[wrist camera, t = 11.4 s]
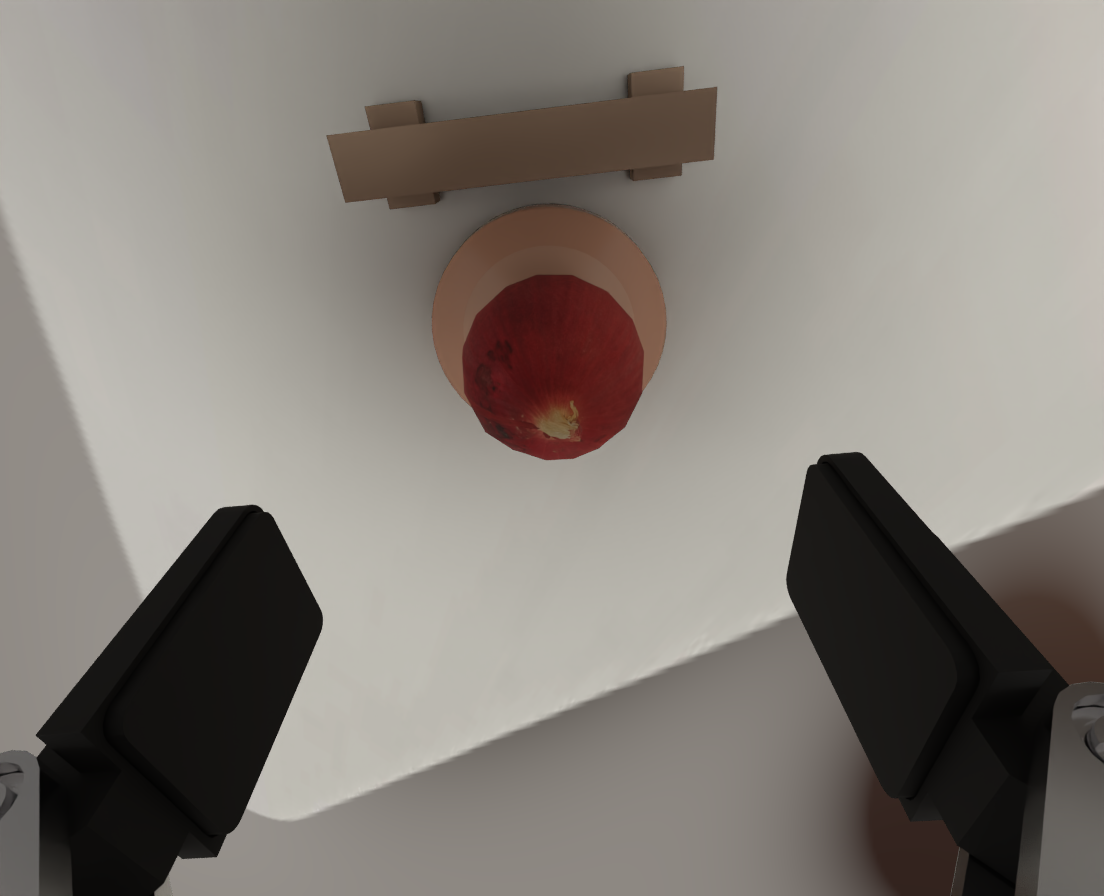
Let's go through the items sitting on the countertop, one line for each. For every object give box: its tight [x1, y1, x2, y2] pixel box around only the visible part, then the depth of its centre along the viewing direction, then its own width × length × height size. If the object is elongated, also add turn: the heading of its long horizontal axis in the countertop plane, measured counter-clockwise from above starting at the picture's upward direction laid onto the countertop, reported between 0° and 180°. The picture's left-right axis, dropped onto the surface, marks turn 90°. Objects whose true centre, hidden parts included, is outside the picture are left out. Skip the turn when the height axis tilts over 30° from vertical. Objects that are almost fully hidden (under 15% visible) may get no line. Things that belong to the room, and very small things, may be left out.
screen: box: [327, 66, 717, 209], centre depth 16 cm, size 3×10×5 cm, turn 96°
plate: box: [432, 204, 666, 407], centre depth 21 cm, size 9×9×1 cm
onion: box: [462, 275, 644, 460], centre depth 17 cm, size 6×6×8 cm
